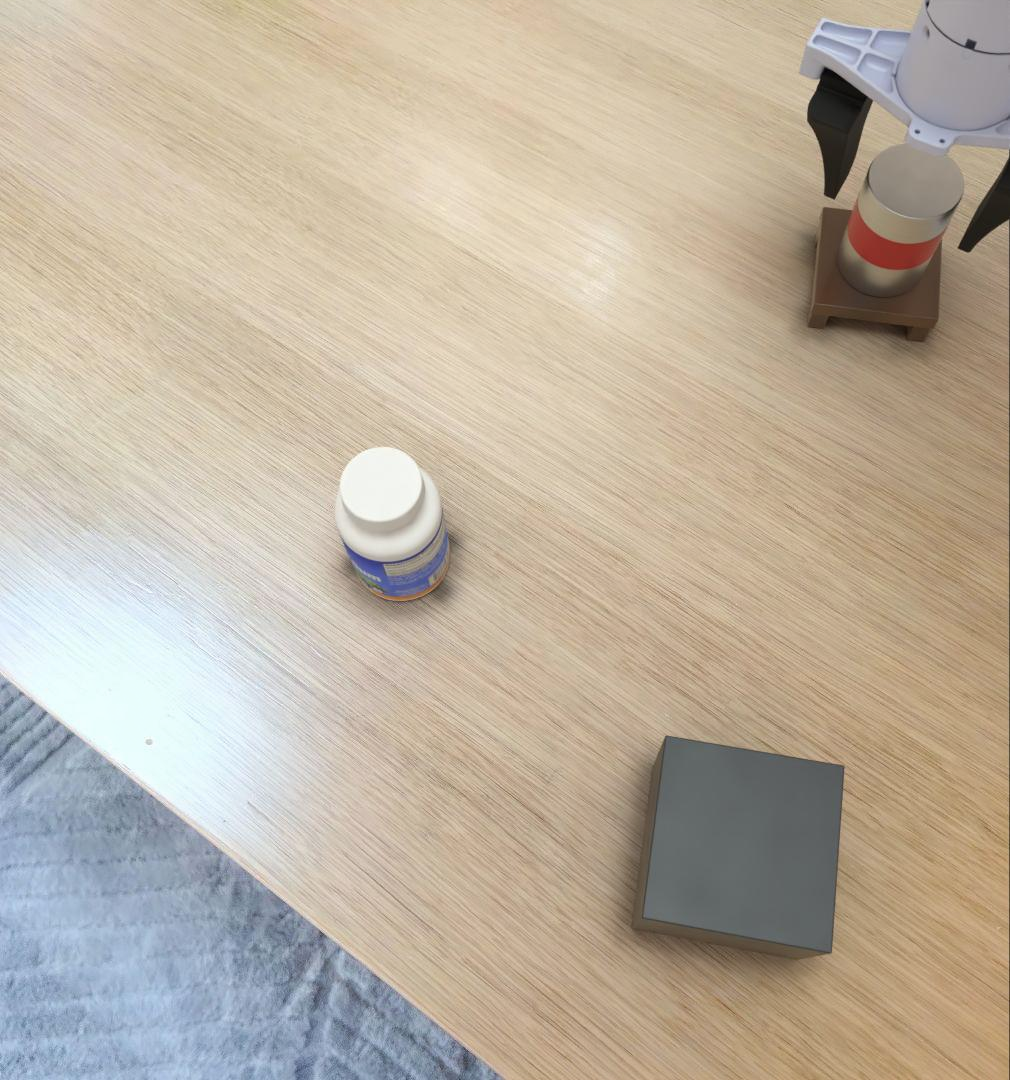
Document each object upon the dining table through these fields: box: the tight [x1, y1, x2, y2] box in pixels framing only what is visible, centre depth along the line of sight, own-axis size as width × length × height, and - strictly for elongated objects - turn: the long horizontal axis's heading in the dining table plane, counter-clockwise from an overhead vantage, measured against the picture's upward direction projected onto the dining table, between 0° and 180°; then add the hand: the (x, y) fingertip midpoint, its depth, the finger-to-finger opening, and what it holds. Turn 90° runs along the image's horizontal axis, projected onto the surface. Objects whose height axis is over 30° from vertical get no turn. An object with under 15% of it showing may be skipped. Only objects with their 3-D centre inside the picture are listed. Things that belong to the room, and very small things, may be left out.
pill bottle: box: [333, 446, 451, 602], centre depth 58 cm, size 5×5×10 cm
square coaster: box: [630, 735, 846, 961], centre depth 52 cm, size 8×8×7 cm
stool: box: [806, 206, 943, 343], centre depth 66 cm, size 7×7×2 cm
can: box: [837, 143, 965, 297], centre depth 62 cm, size 5×5×7 cm
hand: (902, 210), depth 61 cm, fingers open, 7 cm apart
